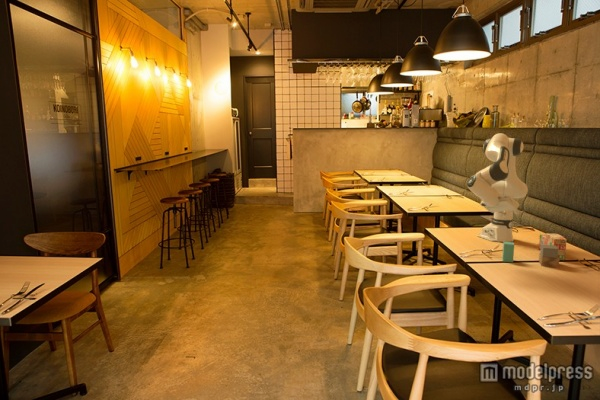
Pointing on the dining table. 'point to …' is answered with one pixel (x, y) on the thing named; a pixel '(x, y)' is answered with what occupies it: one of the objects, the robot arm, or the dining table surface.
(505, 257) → the teal pillar
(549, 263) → the tower base
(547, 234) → the stack of blocks
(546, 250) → the tower top
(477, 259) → the dining table surface
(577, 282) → the dining table surface
